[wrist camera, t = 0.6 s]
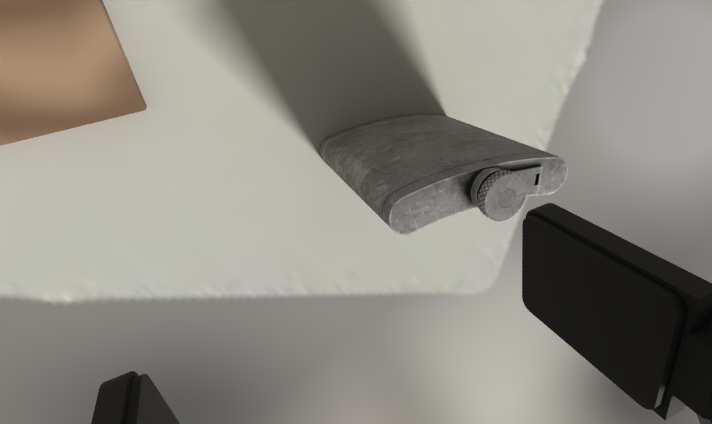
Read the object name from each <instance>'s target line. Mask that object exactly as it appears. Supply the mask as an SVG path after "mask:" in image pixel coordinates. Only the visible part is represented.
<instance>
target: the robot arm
mask: <svg viewBox="0 0 712 424" xmlns="http://www.w3.org/2000/svg"><path fill="white" fill-rule="evenodd" d="M522 255H523V256H522V257H523V258H522V260H523V261H522V268H523V270H522V298H523V302H524V304H525V306H526V308H527V309H528V310H529V311H530V312H531V313H532V314H533V315H535V316H536V317H537V318H538V319H539V320H541V321H542V322H543V323H544V324H545V325H546V326H548V327H549V328H550V329H551V330H552V331H553V332H555V333H556V334H557V335H558V336H559V337H561V338H562V339H563V340H564V341H565V342H566V343H568V344H569V345H570V346H571V347H572V348H573V349H575V350H576V351H577V352H578V353H579V354H581V355H582V356H583V357H584V358H585V359H586V360H588V361H589V362H590V363H591V364H592V365H594V366H595V367H596V368H597V369H598V370H599V371H600V372H602V373H603V374H604V375H605V376H606V377H608V378H609V379H610V380H611V381H612V382H613V383H615V384H616V385H617V386H618V387H619V388H620V389H622V390H623V391H624V392H625V393H626V394H628V395H629V396H630V397H631V398H632V399H633V400H635V401H636V402H637V403H638V404H639V405H641V406H642V407H644V408H646V409H650V410H651V409H652V410H654V411H655V412H656V413H657V414H658V415H659V416H661V417H662V418H663V419H664V420H667V419H668V418H670V417H672V416H673V415H675V414H677V413H679V412H680V411H682V410H684V407H685V405H686V406H688V407H689V408H690V409H692V410H693V411H694V412H695V413H696V415H697V418H698V420H699V423H700V424H712V283H709V282H708V281H706V280H704V279H702V278H700V277H698V276H696V275H694V274H692V273H690V272H688V271H686V270H684V269H682V268H680V267H678V266H676V265H674V264H672V263H670V262H668V261H666V260H664V259H662V258H660V257H658V256H656V255H654V254H652V253H650V252H648V251H646V250H644V249H642V248H640V247H638V246H636V245H634V244H632V243H630V242H628V241H626V240H624V239H622V238H621V237H619V236H617V235H614V234H613V233H611V232H609V231H607V230H605V229H603V228H601V227H599V226H597V225H594V224H593V223H591V222H589V221H587V220H584V219H583V218H581V217H579V216H577V215H575V214H573V213H571V212H569V211H567V210H565V209H563V208H561V207H559V206H557V205H555V204H552V203H548V204H545V205H542V206H540V207H537V208H535V209H532V210H530V211H529V212H528V213H527V215H526V219H524V221H523V251H522ZM91 424H180V423H179V422H178V420H177V419H176V417H175V416H174V414H173V413H172V411H171V409H170V408H169V406H168V405H167V403H166V402H165V400H164V399H163V397H162V396H161V394H160V392H159V391H158V390H157V388H156V386H155V385H154V383H153V382H152V380H151V379H150V377H149V376H148V375H147V374H143V375H140V376H139V375H138V374H137V373H136V372H134V371H132V372H129V373H126V374H123V375H121V376H118V377H116V378H113V379H111V380H109V381H106V382H104V383H103V384H102V385H101V386H100V389H99V393H98V397H97V401H96V406H95V410H94V415H93V419H92V423H91Z"/></svg>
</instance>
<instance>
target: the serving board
mask: <svg viewBox="0 0 712 424" xmlns="http://www.w3.org/2000/svg"><path fill="white" fill-rule="evenodd" d="M146 107H147V106H146V104H145V101H144V99H143V97H142V94H141V92H140V89H139V87H138V85H137V82H136V80H135V77H134V75H133V73H132V70H131V68H130V66H129V63H128V61H127V58H126V56H125V54H124V51H123V49H122V46H121V44H120V42H119V39H118V37H117V34H116V32H115V30H114V27H113V25H112V22H111V20H110V18H109V15H108V13H107V11H106V8H105V6H104V3H103V1H102V0H0V146H1V145H5V144H9V143H13V142H17V141H21V140H25V139H29V138H33V137H38V136H42V135H46V134H50V133H54V132H58V131H62V130H66V129H70V128H74V127H78V126H82V125H86V124H91V123H95V122H99V121H103V120H107V119H111V118H115V117H119V116H123V115H127V114H131V113H135V112H140V111H144V110H145V109H146Z"/></svg>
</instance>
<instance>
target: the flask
mask: <svg viewBox="0 0 712 424" xmlns="http://www.w3.org/2000/svg"><path fill="white" fill-rule="evenodd" d="M320 155H321V158H322V159H323V160H324V162H325V163H326V164H327V165H328V166H329V167H330V168H331V169H332V170H333V171H334V172H335V173H336V174H337V175H338V176H339V177H340V178H341V179H342V180H343V181H344V182H345V183H346V184H347V185H348V186H349V187H350V188H351V189H352V190H353V191H354V192H355V193H356V194H357V195H358V196H359V197H360V198H361V199H362V200H363V201H364V202H365V203H366V204H367V205H368V206H369V207H370V208H371V209H372V210H373V211H374V212H375V213H376V214H377V215H378V216H379V217H380V218H381V219H382V220H383V221H384V222H385V223H386V224H387V225H388V226H389V227H390V228H391V229H392V230H393V231H395V232H396V233H398V234H401V235H408V234H411V233H414V232H416V231H418V230H420V229H422V228H424V227H426V226H428V225H431V224H433V223H435V222H437V221H440V220H442V219H445V218H447V217H450V216H452V215H455V214H458V213H461V212H464V211H467V210H470V209H473V208H477V207H478V208H479V209H480V210H481V212H482V213H483V214H484V215H486V216H487V217H489V218H490V219H492V220H494V221H503V220H507V219H508V218H511V217H512V216H513V215H515V213H517V212H518V210H519V209H520V208H521V206H522V205H523V203H524V200H525V197H526V196H536V195H549V194H552V193H554V192H556V191H557V190H558V189H559V188H560V187H561V186H562V185H563V183H564V181H565V179H566V177H567V173H568V166H567V163H566V161H565V160H564V159H563V158H561V157H558V156H555V155H552V154H550V153H547V152H544V151H541V150H539V149H536V148H533V147H530V146H528V145H525V144H522V143H519V142H517V141H514V140H511V139H508V138H506V137H503V136H500V135H497V134H494V133H492V132H489V131H486V130H483V129H481V128H478V127H475V126H472V125H470V124H467V123H464V122H461V121H459V120H456V119H453V118H450V117H448V116H445V115H441V114H419V115H407V116H400V117H394V118H388V119H383V120H378V121H374V122H370V123H366V124H363V125H359V126H356V127H353V128H350V129H347V130H344V131H342V132H339V133H337V134H334V135H332V136H330V137H328V138H326V139H325V140H324V141H323V142H322V144H321V147H320Z"/></svg>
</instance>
